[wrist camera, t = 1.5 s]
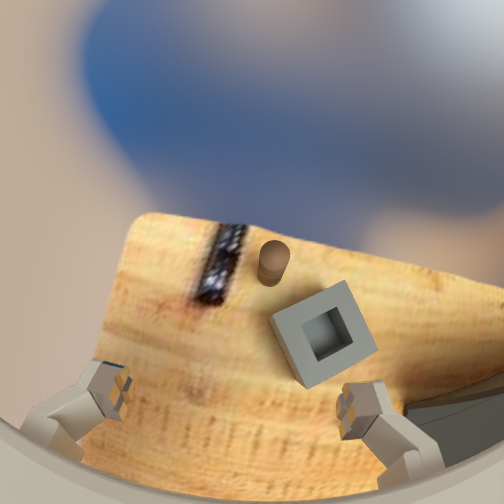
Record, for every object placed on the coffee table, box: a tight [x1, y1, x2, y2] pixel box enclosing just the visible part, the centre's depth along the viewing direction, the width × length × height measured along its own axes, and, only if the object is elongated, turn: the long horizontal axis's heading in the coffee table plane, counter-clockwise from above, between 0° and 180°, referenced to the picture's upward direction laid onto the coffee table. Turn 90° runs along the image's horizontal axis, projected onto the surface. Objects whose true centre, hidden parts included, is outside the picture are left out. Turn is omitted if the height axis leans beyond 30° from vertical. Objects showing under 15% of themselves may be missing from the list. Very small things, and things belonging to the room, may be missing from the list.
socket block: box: [269, 280, 378, 389], centre depth 35 cm, size 10×10×8 cm
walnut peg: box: [258, 240, 290, 287], centre depth 37 cm, size 4×4×10 cm
